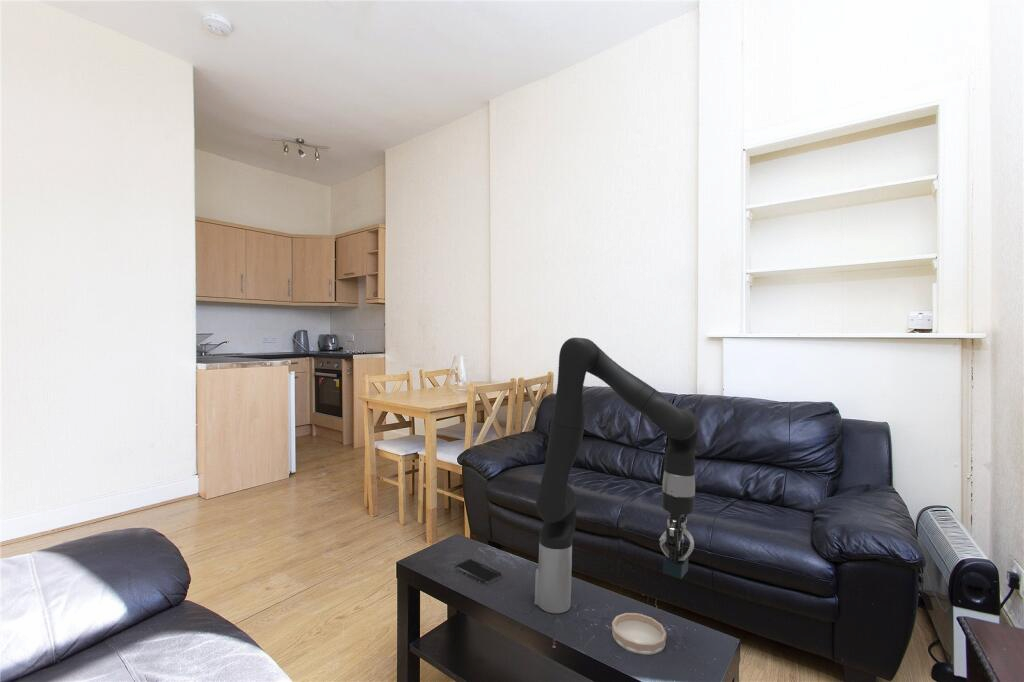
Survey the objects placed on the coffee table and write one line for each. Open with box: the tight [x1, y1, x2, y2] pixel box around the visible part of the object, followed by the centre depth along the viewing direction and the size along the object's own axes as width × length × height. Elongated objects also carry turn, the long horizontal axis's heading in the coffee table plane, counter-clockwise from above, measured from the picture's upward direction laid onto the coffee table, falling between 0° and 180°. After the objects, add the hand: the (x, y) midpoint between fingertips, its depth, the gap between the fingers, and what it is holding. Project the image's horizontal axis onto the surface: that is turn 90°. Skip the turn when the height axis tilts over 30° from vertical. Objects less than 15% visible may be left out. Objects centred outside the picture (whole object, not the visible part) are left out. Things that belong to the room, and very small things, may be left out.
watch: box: [658, 527, 695, 580], centre depth 110 cm, size 6×8×11 cm
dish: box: [611, 612, 667, 656], centre depth 112 cm, size 13×13×2 cm
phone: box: [454, 558, 503, 585], centre depth 142 cm, size 8×1×15 cm
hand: (675, 560), depth 110 cm, fingers closed on watch, 3 cm apart
